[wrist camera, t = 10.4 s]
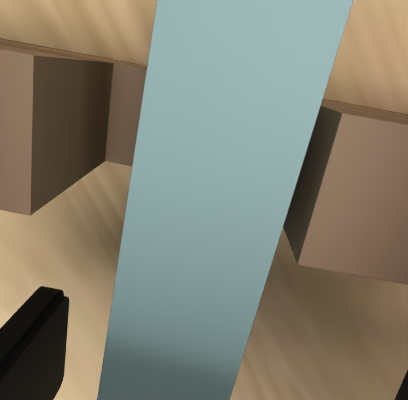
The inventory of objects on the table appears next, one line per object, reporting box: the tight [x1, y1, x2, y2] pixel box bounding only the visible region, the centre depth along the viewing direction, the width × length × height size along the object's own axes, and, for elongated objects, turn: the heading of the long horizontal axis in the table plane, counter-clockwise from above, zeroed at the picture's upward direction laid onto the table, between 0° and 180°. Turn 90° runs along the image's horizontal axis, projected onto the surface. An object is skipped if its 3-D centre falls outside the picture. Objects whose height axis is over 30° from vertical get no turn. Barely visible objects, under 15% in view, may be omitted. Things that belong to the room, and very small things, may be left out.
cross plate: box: [97, 0, 353, 400], centre depth 9 cm, size 16×2×8 cm, turn 168°
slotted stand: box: [0, 39, 408, 285], centre depth 9 cm, size 16×2×8 cm, turn 80°
